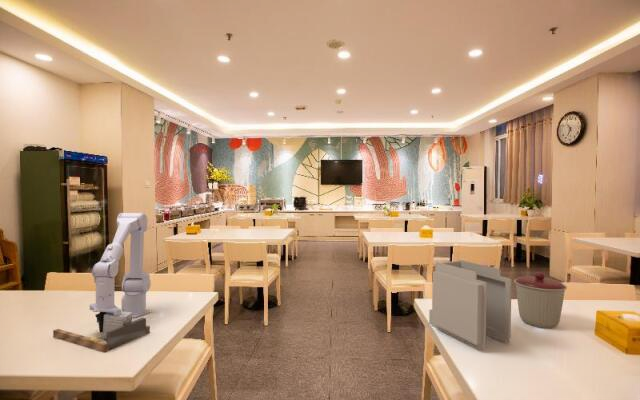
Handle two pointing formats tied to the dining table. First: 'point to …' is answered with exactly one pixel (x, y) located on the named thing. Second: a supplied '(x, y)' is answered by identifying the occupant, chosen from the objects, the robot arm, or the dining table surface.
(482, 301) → the grey napkin holder
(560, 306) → the canister
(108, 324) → the medicine box
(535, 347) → the dining table surface
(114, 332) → the brown piece
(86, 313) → the dining table surface
